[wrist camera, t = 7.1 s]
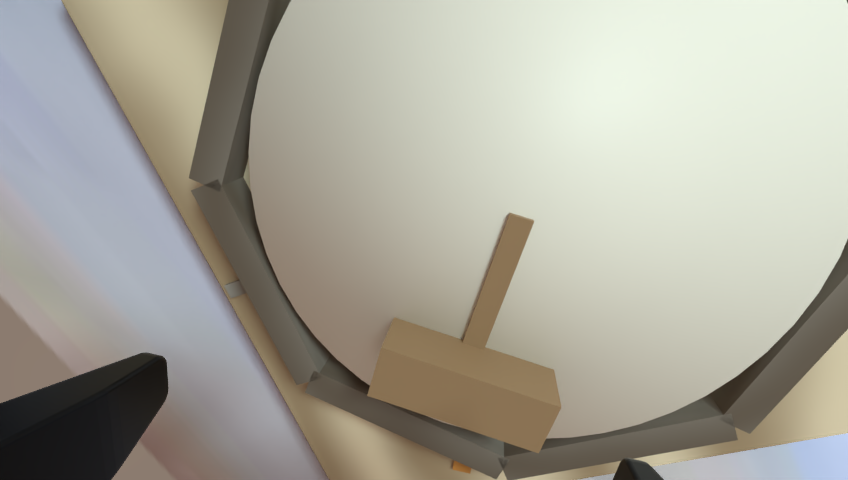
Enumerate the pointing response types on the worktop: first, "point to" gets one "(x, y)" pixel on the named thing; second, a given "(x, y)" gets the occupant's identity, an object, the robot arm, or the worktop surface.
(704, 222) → the dial
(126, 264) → the worktop surface
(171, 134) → the dial base
